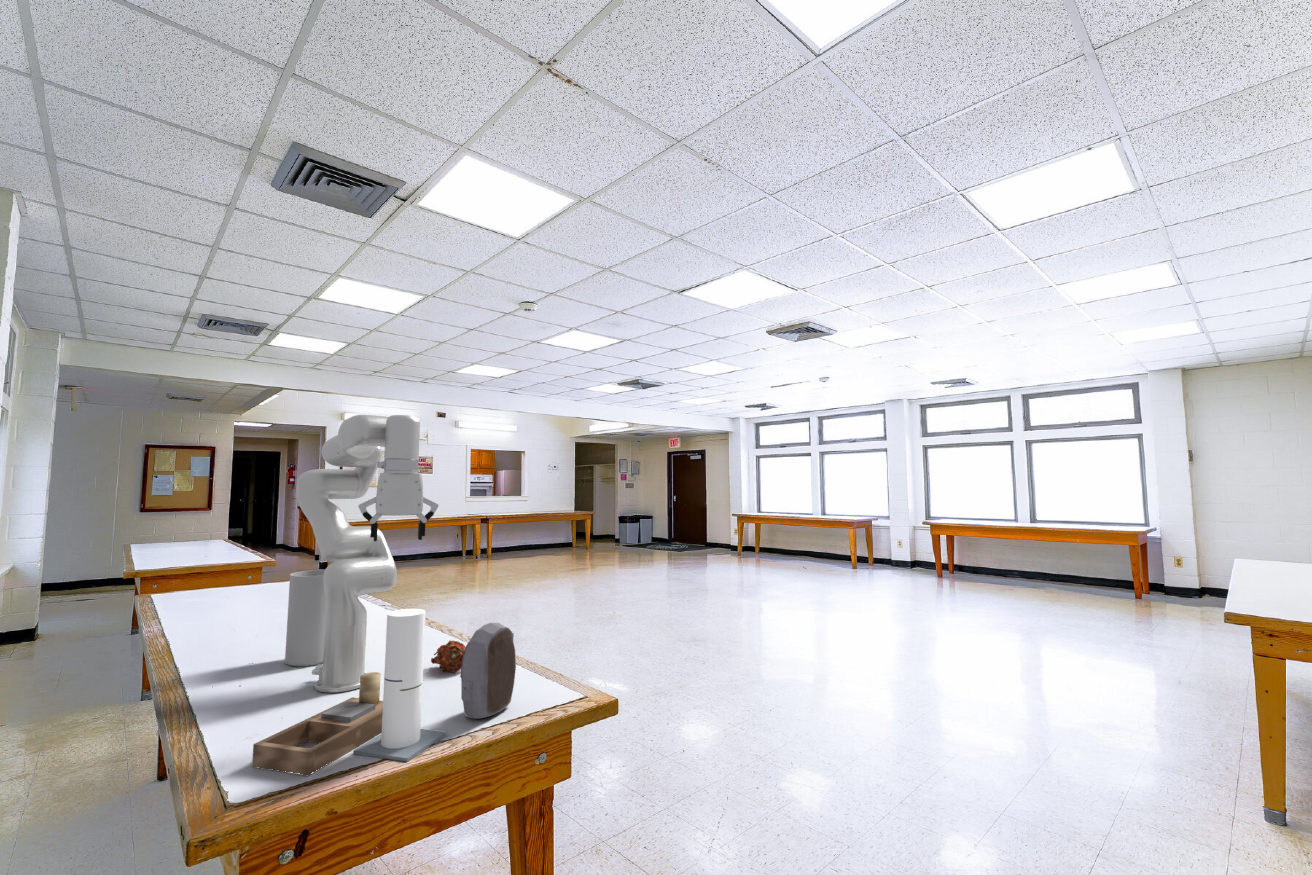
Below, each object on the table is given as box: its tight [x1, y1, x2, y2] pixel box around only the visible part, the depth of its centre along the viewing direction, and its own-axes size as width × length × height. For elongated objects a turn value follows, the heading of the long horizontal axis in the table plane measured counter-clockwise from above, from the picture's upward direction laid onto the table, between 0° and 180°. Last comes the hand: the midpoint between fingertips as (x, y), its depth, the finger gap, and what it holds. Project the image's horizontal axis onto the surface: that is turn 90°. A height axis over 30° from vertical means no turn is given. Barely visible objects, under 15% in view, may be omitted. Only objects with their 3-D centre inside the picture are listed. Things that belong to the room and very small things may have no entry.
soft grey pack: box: [459, 622, 517, 719], centre depth 133 cm, size 15×8×20 cm, turn 160°
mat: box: [352, 728, 447, 762], centre depth 116 cm, size 12×12×1 cm
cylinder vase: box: [284, 569, 326, 668], centre depth 169 cm, size 12×12×25 cm
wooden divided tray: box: [251, 671, 383, 776], centre depth 116 cm, size 12×24×10 cm, turn 166°
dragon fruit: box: [430, 640, 466, 673], centre depth 162 cm, size 8×8×12 cm
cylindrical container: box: [381, 608, 426, 749], centre depth 117 cm, size 7×7×25 cm
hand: (397, 540), depth 137 cm, fingers open, 9 cm apart
